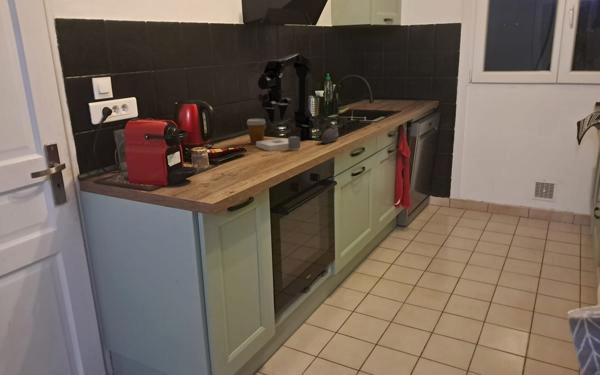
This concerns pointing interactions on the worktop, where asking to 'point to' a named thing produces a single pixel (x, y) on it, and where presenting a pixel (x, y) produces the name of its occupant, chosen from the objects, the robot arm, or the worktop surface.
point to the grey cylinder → (294, 143)
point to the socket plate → (273, 144)
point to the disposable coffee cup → (256, 130)
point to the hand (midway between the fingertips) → (277, 121)
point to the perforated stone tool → (330, 135)
